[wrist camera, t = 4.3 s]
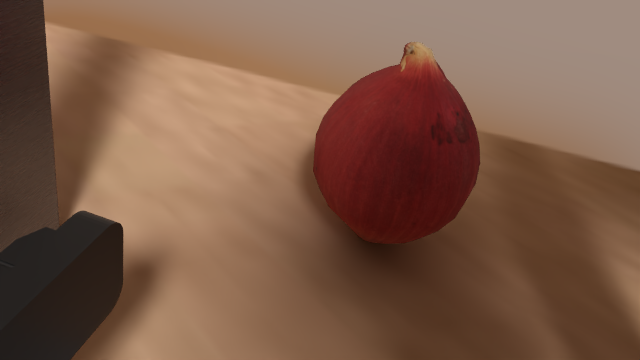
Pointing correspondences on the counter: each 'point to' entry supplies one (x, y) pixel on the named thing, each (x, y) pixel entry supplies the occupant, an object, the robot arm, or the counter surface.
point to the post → (25, 124)
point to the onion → (398, 151)
